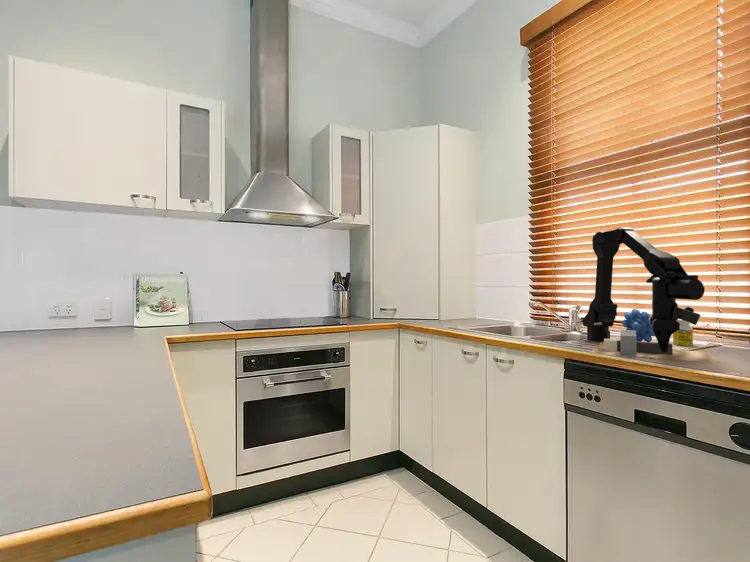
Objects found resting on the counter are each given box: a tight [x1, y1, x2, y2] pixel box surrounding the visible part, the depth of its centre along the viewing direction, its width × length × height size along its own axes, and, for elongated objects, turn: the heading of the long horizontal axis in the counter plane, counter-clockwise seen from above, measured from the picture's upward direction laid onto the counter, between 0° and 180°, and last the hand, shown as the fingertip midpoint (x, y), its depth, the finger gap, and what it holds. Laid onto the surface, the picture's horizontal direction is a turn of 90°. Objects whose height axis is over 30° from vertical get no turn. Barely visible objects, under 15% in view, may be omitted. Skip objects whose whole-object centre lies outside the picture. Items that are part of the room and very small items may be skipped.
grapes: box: [621, 308, 655, 342], centre depth 155 cm, size 12×7×12 cm, turn 38°
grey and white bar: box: [599, 338, 674, 355], centre depth 129 cm, size 19×4×3 cm, turn 59°
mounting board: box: [591, 344, 717, 364], centre depth 127 cm, size 30×18×1 cm, turn 59°
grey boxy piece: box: [619, 329, 636, 357], centre depth 130 cm, size 4×16×6 cm, turn 149°
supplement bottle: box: [672, 319, 694, 347], centre depth 141 cm, size 5×5×10 cm
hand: (663, 351), depth 125 cm, fingers closed on grey and white bar, 2 cm apart
